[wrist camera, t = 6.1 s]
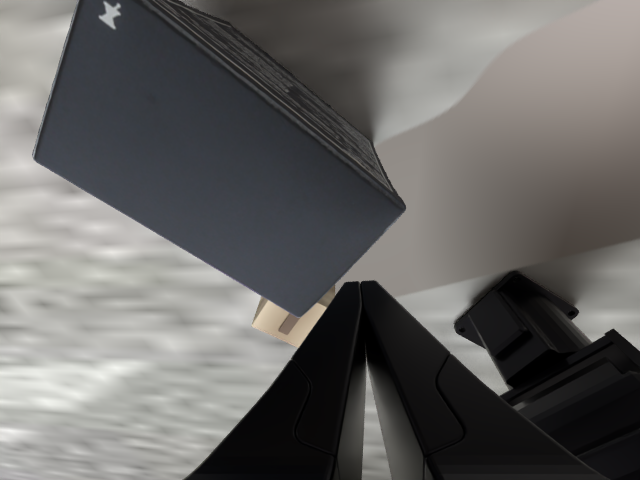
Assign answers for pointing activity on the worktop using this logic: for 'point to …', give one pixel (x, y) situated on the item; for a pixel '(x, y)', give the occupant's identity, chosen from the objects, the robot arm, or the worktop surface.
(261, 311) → the marked block 2
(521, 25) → the worktop surface
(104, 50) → the small box
